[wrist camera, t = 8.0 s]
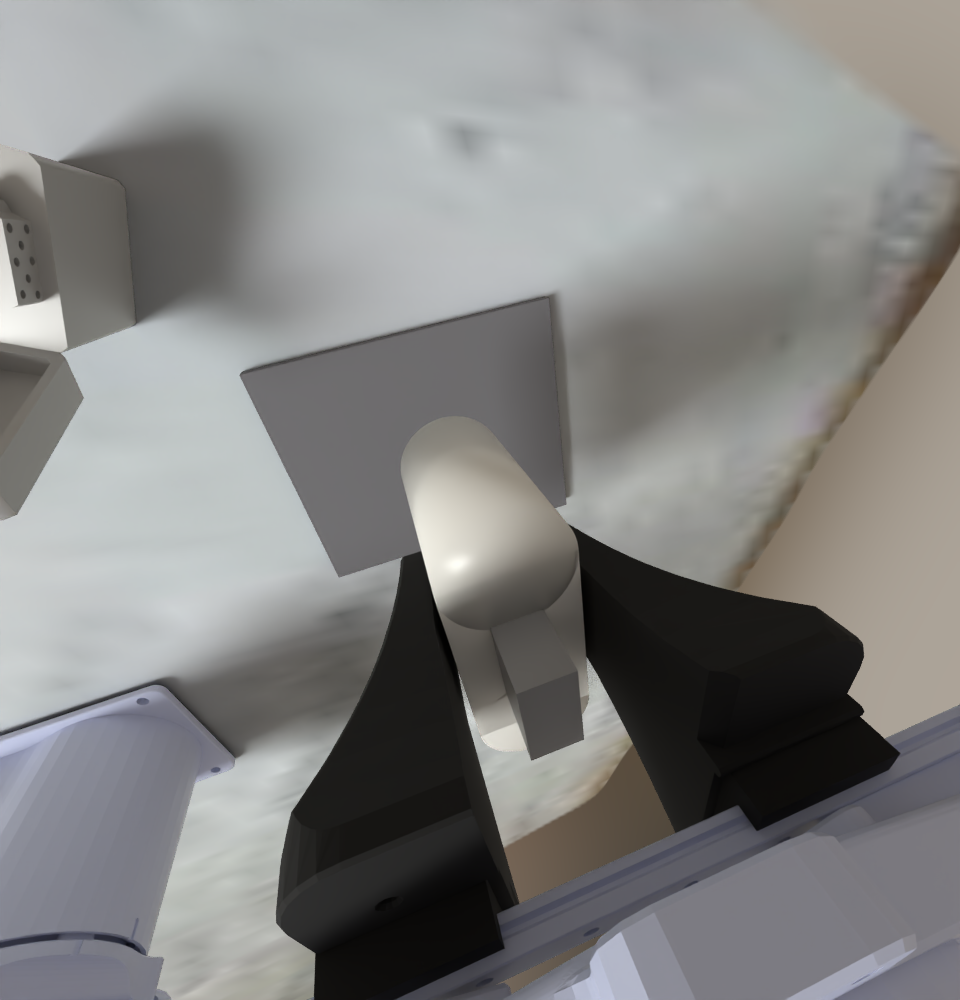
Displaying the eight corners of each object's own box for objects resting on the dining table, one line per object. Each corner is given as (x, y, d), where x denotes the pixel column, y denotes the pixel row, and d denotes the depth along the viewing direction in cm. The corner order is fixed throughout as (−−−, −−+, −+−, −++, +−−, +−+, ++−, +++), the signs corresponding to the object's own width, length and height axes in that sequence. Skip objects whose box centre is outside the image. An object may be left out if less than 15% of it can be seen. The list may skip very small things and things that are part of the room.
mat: (339, 570, 21) (338, 577, 21) (241, 371, 16) (239, 375, 15) (562, 499, 23) (566, 504, 22) (544, 297, 17) (549, 298, 17)
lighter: (48, 159, 12) (-324, 45, 5) (124, 182, 13) (-122, 105, 6) (83, 404, 15) (-125, 529, 8) (143, 413, 16) (-5, 535, 9)
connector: (451, 629, 16) (509, 831, 10) (387, 433, 11) (429, 601, 6) (526, 603, 16) (622, 784, 11) (492, 403, 12) (623, 536, 6)
